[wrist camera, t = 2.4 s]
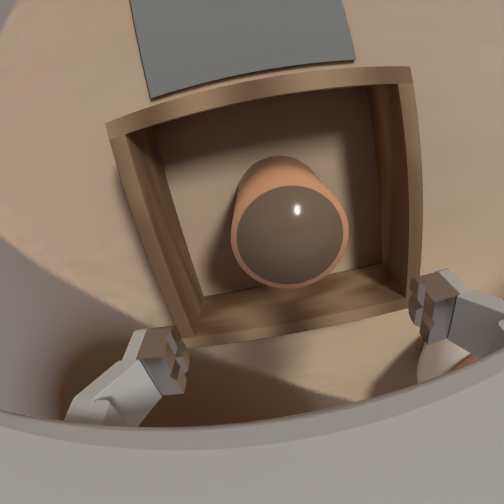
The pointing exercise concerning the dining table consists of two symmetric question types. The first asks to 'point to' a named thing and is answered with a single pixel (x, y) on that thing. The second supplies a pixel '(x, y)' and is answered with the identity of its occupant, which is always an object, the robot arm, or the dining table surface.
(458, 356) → the lidded jar
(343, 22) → the slate mat
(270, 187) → the peach cylinder
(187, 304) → the wooden frame
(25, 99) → the dining table surface
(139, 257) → the dining table surface
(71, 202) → the dining table surface
